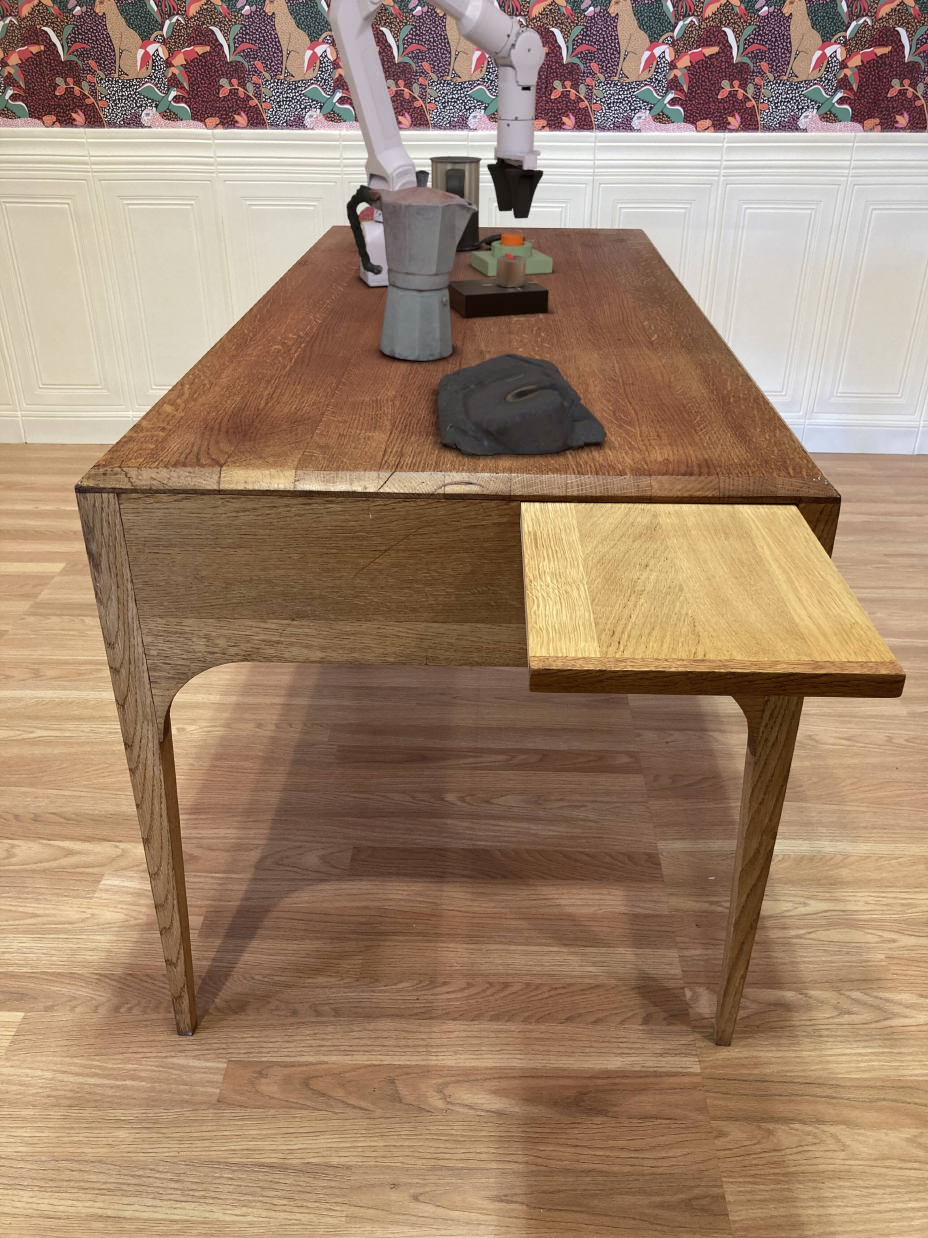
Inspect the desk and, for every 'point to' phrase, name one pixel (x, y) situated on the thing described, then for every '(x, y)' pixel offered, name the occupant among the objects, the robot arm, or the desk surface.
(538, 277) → the desk surface
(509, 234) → the button
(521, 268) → the temp dial
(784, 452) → the desk surface
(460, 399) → the slotted grey rock
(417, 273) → the moka pot
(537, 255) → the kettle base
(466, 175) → the milk frother
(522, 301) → the panel
